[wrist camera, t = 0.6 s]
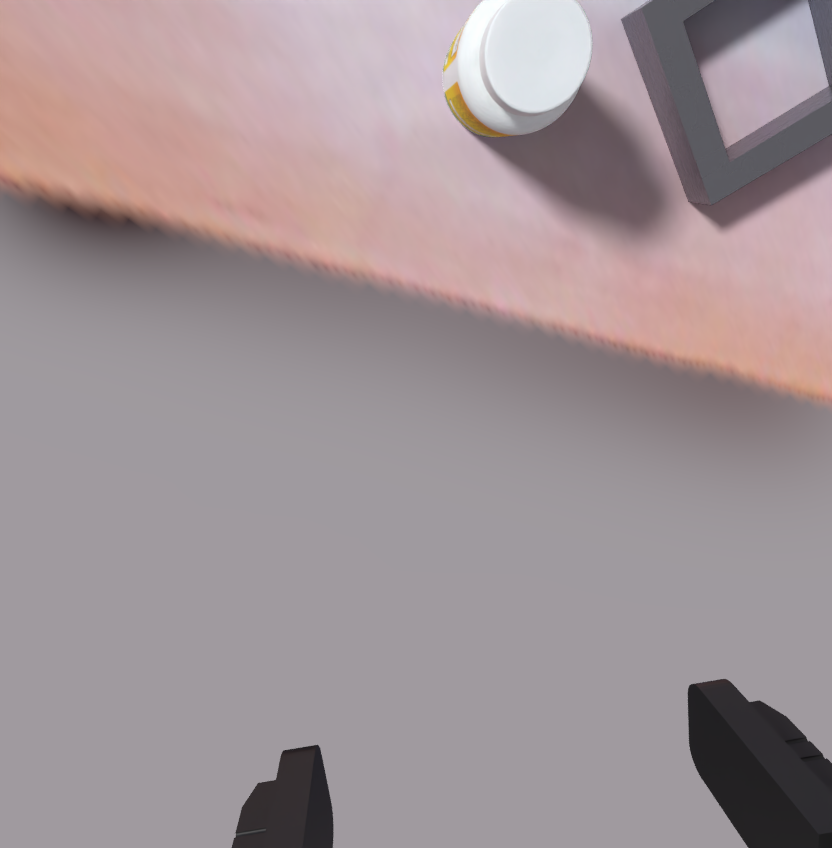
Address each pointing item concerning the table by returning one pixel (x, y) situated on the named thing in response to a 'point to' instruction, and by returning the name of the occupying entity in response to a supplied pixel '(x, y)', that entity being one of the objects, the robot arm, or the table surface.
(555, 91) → the supplement bottle
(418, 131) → the table surface
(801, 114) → the rail
